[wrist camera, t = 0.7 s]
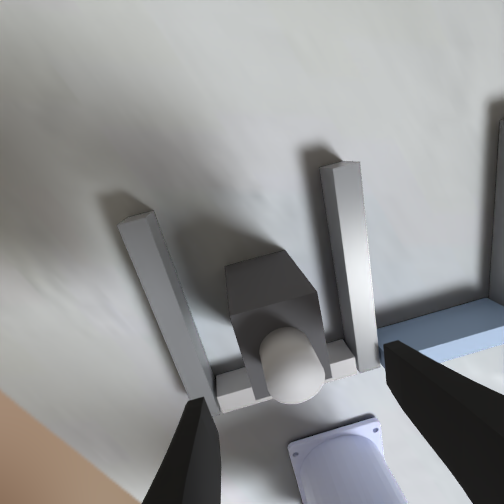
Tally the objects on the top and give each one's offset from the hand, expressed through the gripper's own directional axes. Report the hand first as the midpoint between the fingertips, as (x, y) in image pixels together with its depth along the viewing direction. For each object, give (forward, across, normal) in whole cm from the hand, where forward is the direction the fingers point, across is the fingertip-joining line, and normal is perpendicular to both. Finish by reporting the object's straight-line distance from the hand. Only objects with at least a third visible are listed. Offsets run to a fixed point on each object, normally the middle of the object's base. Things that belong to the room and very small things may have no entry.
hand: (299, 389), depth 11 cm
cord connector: (+8, 0, 0) cm, 9 cm away
